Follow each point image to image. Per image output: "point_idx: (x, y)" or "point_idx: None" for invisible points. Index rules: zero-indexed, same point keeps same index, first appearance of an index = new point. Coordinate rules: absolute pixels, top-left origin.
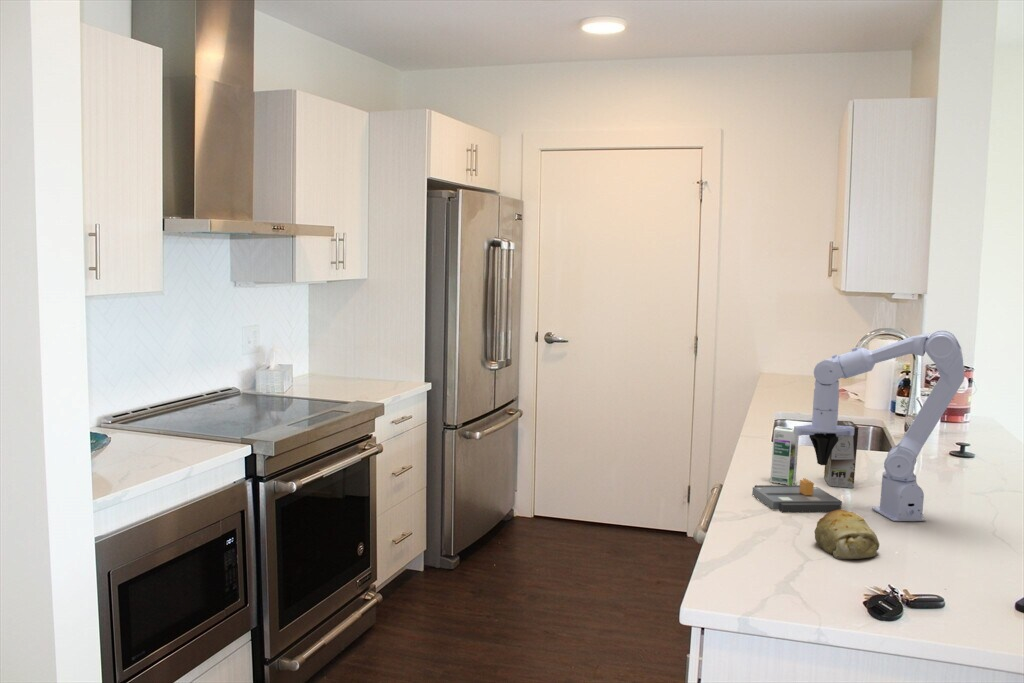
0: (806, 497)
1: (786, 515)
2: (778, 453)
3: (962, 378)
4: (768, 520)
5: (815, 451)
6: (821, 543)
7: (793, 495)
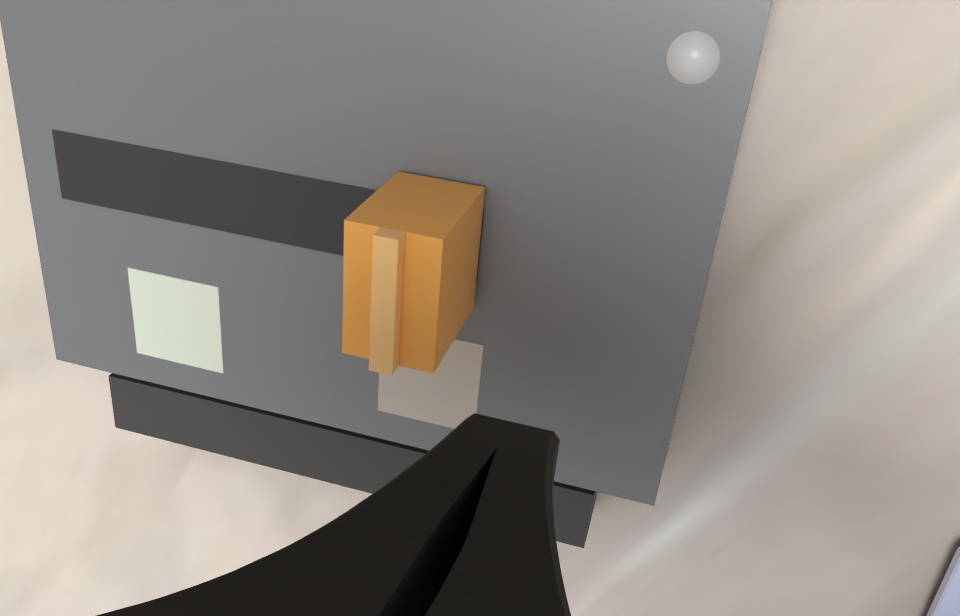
0: None
1: (157, 445)
2: None
3: None
4: (18, 486)
5: (363, 507)
6: None
7: (289, 253)
